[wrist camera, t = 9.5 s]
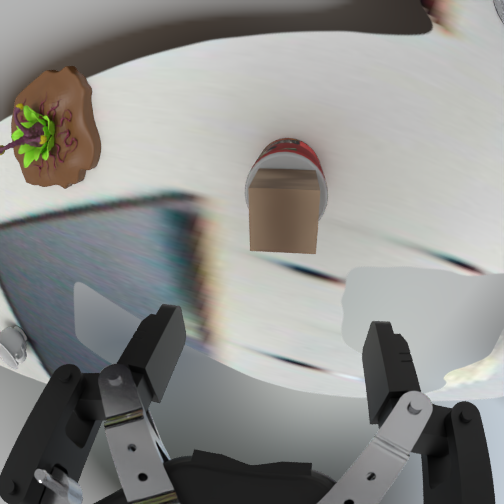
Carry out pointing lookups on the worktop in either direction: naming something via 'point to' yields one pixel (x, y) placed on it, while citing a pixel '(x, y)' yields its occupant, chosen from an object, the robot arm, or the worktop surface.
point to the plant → (55, 129)
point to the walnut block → (284, 211)
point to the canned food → (290, 164)
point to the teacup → (13, 346)
